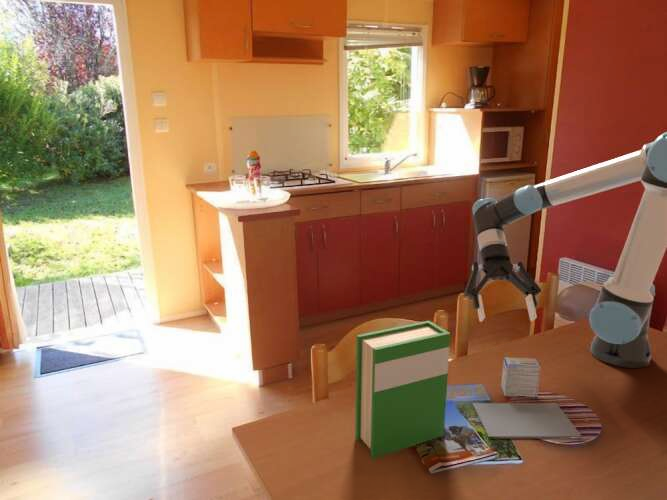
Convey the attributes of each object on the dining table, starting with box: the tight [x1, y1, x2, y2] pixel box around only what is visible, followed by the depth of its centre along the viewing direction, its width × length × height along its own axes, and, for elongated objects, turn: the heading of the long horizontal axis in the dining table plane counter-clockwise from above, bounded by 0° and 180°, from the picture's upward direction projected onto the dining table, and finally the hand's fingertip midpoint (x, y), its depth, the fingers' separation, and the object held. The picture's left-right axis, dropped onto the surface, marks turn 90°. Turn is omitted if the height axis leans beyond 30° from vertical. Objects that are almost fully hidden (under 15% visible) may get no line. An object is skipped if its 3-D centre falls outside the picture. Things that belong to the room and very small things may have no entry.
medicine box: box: [500, 356, 542, 398], centre depth 128 cm, size 8×4×9 cm, turn 84°
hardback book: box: [354, 320, 451, 460], centre depth 109 cm, size 18×7×24 cm, turn 116°
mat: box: [472, 402, 583, 439], centre depth 118 cm, size 20×13×1 cm, turn 90°
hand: (508, 319), depth 136 cm, fingers open, 13 cm apart
